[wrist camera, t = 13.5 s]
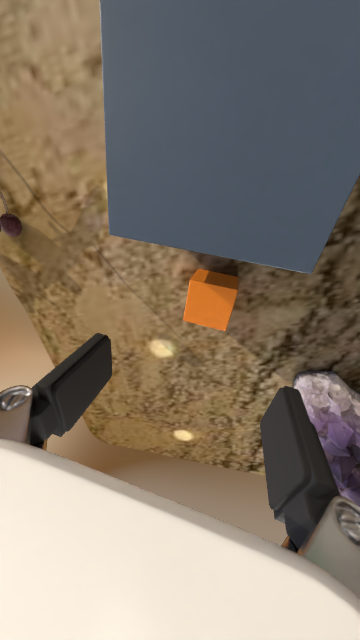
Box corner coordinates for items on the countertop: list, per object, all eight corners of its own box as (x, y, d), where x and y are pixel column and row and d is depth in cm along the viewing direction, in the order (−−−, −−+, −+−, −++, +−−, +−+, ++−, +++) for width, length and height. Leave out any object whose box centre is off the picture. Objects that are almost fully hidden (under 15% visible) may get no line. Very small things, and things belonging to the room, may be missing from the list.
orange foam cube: (238, 276, 21) (238, 290, 17) (227, 312, 23) (225, 331, 20) (198, 268, 22) (190, 279, 18) (191, 304, 24) (183, 320, 20)
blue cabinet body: (176, 1, 14) (85, -322, 5) (374, 0, 12) (689, -495, 4) (158, 227, 21) (108, 234, 13) (279, 249, 19) (311, 274, 11)
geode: (254, 391, 28) (270, 462, 19) (331, 346, 24) (401, 408, 15) (339, 475, 31) (390, 574, 21) (423, 448, 26) (534, 556, 17)
